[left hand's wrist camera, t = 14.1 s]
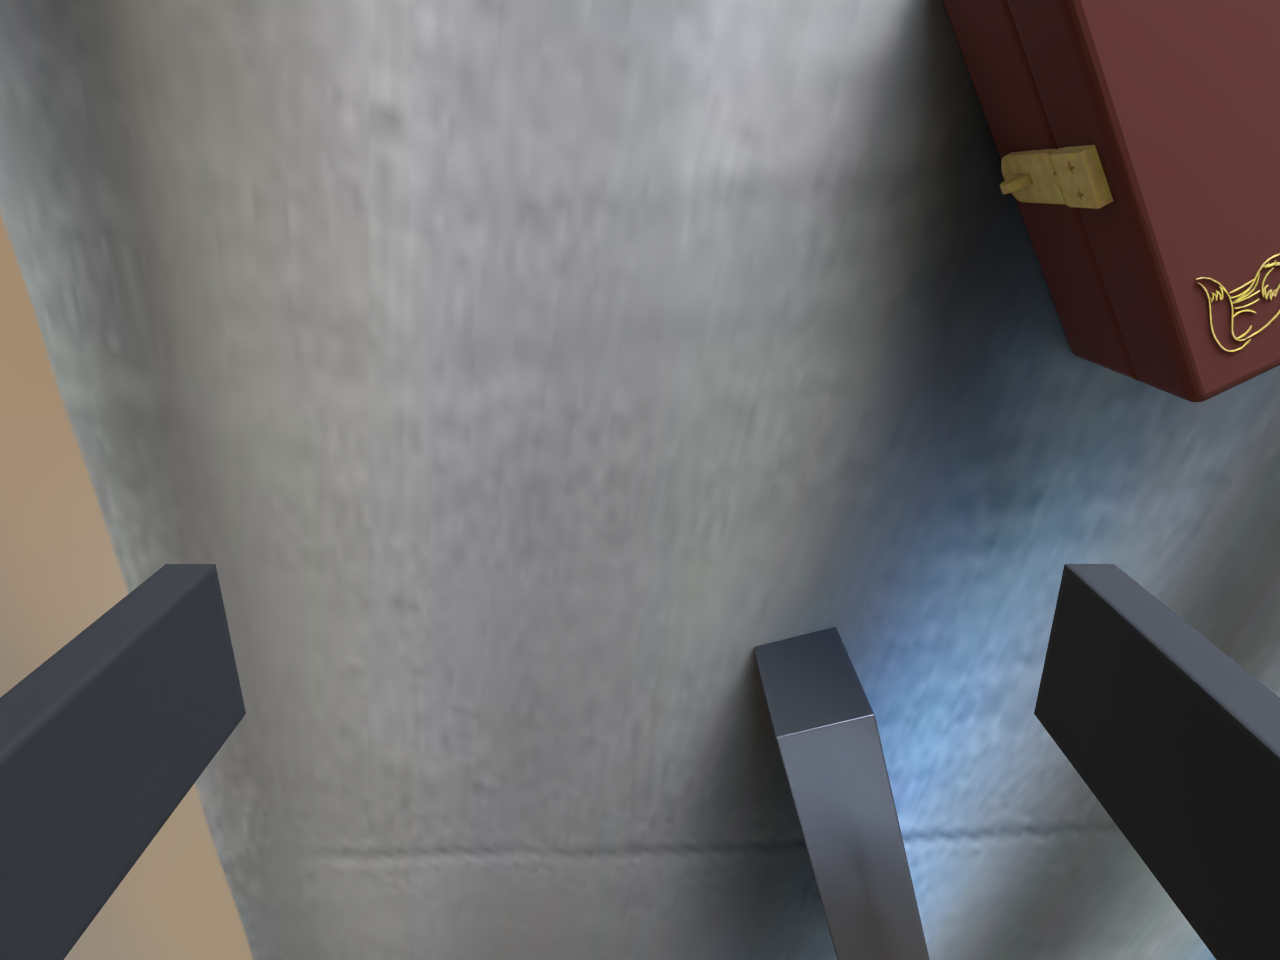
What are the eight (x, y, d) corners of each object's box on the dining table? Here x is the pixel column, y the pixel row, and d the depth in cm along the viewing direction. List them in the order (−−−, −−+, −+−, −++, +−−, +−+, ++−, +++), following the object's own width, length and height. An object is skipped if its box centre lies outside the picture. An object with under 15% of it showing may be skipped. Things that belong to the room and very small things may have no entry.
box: (897, -26, 36) (987, -98, 27) (1263, -247, 34) (1505, -413, 24) (1049, 372, 43) (1164, 426, 33) (1368, 214, 40) (1591, 225, 31)
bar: (753, 646, 49) (775, 737, 41) (836, 626, 48) (874, 714, 40) (828, 917, 56) (859, 1039, 48) (900, 902, 56) (943, 1023, 48)
